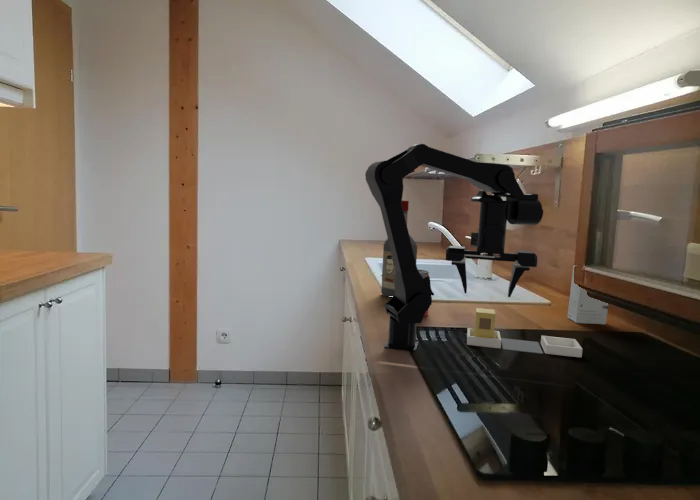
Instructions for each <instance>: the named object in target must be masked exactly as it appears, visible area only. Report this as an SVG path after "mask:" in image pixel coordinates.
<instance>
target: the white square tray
mask: <svg viewBox="0 0 700 500" xmlns="http://www.w3.org/2000/svg"><path fill="white" fill-rule="evenodd" d="M540 346H541V347H542V349H543V350H542V351H543V353H545V354H547V355H556V356H565V357H572V358H573V357H575V358H582V356H583V347H582V346H581V345H580V343H579V342H578V341H577V339H575V338H568V337H567V338H566V337H557V336H549V335H541V338H540Z"/></svg>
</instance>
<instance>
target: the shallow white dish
mask: <svg viewBox="0 0 700 500" xmlns="http://www.w3.org/2000/svg"><path fill="white" fill-rule="evenodd" d="M474 329H475V327H474V328H472V327H467V332H466V345H468V346H475V347H483V348H493V349H501V348H502V342H501V338H502V337H501V333H500V331H499V330H494V339H493V338H483V337H474Z"/></svg>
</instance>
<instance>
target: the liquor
mask: <svg viewBox="0 0 700 500" xmlns="http://www.w3.org/2000/svg"><path fill="white" fill-rule="evenodd" d="M409 204H410V203H409V200H402V207H403V211H404V216H405V220H406V224H407V225H408V211H409ZM409 236H410V241H411V245H412V249H413V253H414V257H415V262H416V263H417V255H418V245H417V243H416V241H415V240H414V238H413V237H412V236H411V234H409ZM382 249H383V254H382V271H381V288H380V291H381V294H382V297H385V298H387V297H386V296H394V295H395V285H394V283H395V276H396V269H395V265H394V261H393V257H392V253H391V249H390V245H389V241H388V238H386V240H385V241H384V243H383V248H382Z"/></svg>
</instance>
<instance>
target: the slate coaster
mask: <svg viewBox="0 0 700 500" xmlns="http://www.w3.org/2000/svg"><path fill="white" fill-rule="evenodd" d="M501 347H502V350H504V351H505V350H506V351H513V352H523V353H531V354H540V355H544V351H543V350H542V349H543V348H541V347H542V346H541V344H540V343H539V341H532V340H531V341H530V340H523V339H513V338H504V337H501Z"/></svg>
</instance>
